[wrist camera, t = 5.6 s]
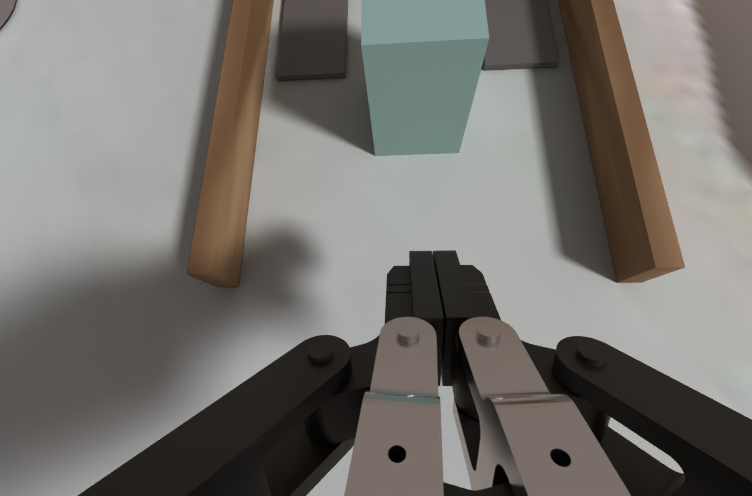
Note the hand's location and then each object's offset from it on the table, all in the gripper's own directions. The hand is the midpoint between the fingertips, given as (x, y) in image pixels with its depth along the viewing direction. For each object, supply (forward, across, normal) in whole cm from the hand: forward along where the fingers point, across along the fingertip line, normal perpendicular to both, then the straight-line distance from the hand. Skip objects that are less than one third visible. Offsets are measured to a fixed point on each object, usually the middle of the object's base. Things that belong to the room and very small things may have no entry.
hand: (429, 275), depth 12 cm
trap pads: (+19, 0, -9) cm, 20 cm away
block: (+14, 0, -4) cm, 14 cm away
